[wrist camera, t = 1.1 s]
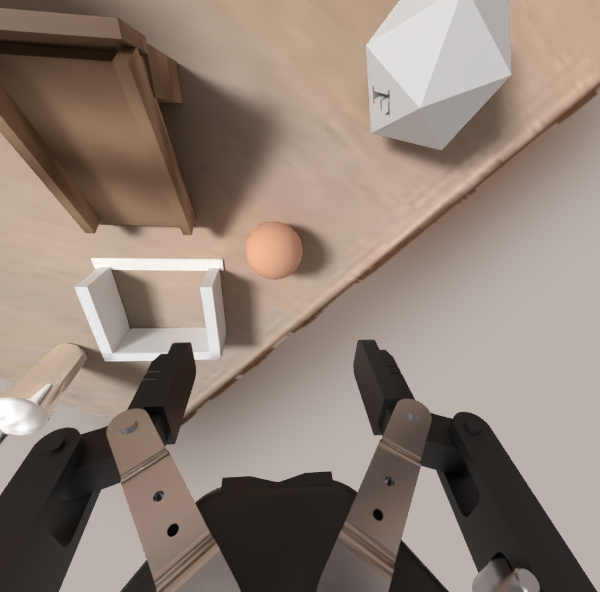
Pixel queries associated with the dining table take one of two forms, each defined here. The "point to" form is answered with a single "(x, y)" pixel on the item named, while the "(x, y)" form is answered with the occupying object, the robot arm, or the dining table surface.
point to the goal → (149, 341)
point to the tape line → (158, 264)
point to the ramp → (93, 117)
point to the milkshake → (39, 391)
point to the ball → (274, 250)
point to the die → (436, 67)
